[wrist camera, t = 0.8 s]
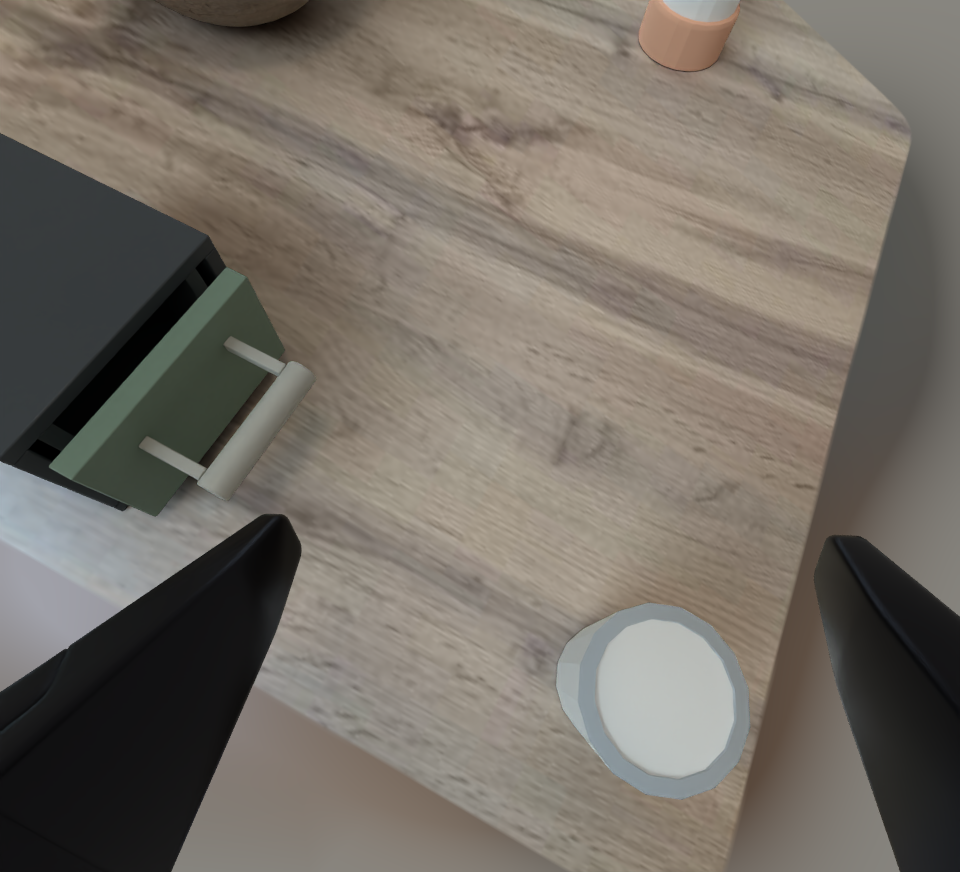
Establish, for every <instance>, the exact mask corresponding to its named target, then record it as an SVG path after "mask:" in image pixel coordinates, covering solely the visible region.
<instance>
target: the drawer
mask: <svg viewBox="0 0 960 872" xmlns="http://www.w3.org/2000/svg"><path fill="white" fill-rule="evenodd" d="M284 351H285V349H284V347H283V345H282V343H281V341H280V339H279V337H278V335H277V333H276V331H275V329H274V328H273V326H272V324H271V322H270V320H269V318H268V316H267V314H266V312H265V310H264V308H263V307H262V305H261V303H260V301H259V299H258V297H257V295H256V293H255V291H254V289H253V288H252V286H251V284H250V282H249V280H248V278H247V277H246V276H244V275H242V274H240V273H238V272H236V271H234V270H232V269H230V268H228V267H226V268H225V269H224V270H223V271H222V272H221V274H220V275H219V276H218V277H217V278H216V279H215V280H214V281H213V283H212V284H211V285H210V286H209V287H207V285H206V284H205V282H204V281H203V279H202V278H201V276H200V274H199V273H198V271H197V270H196V268H195V269H194V270H193V271H192V272H191V273H190V274H189V275H188V276H187V278H186V279H185V280H184V281H183V282H182V283H181V284H180V285H179V286H178V287H177V288H176V289H175V291H174V292H173V293H172V294H171V295H170V296H169V297H168V298H167V299H166V300H165V301H164V302H163V304H162V305H161V306H160V307H159V308H158V309H157V310H156V311H155V312H154V313H153V314H152V315H151V317H150V318H149V319H148V320H147V321H146V322H145V323H144V324H143V325H142V326H141V327H140V328H139V330H138V331H137V332H136V333H135V334H134V335H133V336H132V337H131V338H130V339H129V340H128V341H127V343H126V344H125V345H124V346H123V347H122V348H121V349H120V350H119V351H118V352H117V353H116V354H115V356H114V357H113V358H112V359H111V360H110V361H109V362H108V363H107V364H106V365H105V366H104V367H103V369H102V370H101V371H100V372H99V373H98V374H97V375H96V376H95V377H94V378H93V379H92V380H91V382H90V383H89V384H88V385H87V386H86V387H85V388H84V389H83V390H82V391H81V392H80V393H79V395H78V396H77V397H76V398H75V399H74V400H73V401H72V402H71V403H70V404H69V405H68V406H67V408H66V409H65V410H64V411H63V412H62V413H61V414H60V415H59V416H58V417H57V418H56V419H55V421H54V422H53V423H52V424H51V425H50V426H49V427H48V428H47V429H46V430H45V431H44V432H43V434H42V435H41V436H40V437H39V438H38V440H40V441H42V442H44V443H46V444H48V445H50V446H52V447H54V448H56V449H58V450H60V451H61V453H60V454H59V455H58V456H57V457H56V458H55V459H54V460H53V462H52V463H51V464H50V465H49V468H51V469H52V470H54V471H56V472H58V473H59V474H61V475H63V476H65V477H67V478H68V479H70V480H72V481H74V482H77V483H79V484H81V485H84V486H86V487H88V488H90V489H93V490H95V491H97V492H100V493H102V494H104V495H107V496H109V497H111V498H113V499H116V500H118V501H120V502H123V503H125V504H127V505H129V506H132V507H134V508H136V509H139V510H141V511H143V512H146V513H148V514H150V515H152V516H155V517H156V516H157V515H158V514H159V513H160V511H161V510H162V509H163V508H164V506H165V505H166V504H167V502H168V501H169V500H170V499H171V497H172V496H173V495H174V493H175V492H176V491H177V490H178V488H179V487H180V486H181V484H182V483H183V482H184V480H185V479H186V478H187V477H188V475H189V476H191V477H193V478H195V479H197V480H199V481H198V482H197V485H198V486H200V487H202V488H203V489H205V490H207V491H208V492H210V493H212V494H213V495H215V496H217V497H219V498H221V499H223V500H224V501H229V500H230V498H231V497H232V495H233V494H234V493H235V491H236V490H237V489H238V487H239V486H240V484H241V483H242V482H243V480H244V479H245V478H246V476H247V475H248V473H249V472H250V471H251V469H252V468H253V467H254V465H255V464H256V462H257V461H258V460H259V458H260V457H261V456H262V454H263V453H264V451H265V450H266V449H267V447H268V446H269V445H270V443H271V442H272V440H273V439H274V438H275V436H276V435H277V434H278V432H279V431H280V429H281V428H282V427H283V425H284V424H285V423H286V421H287V420H288V418H289V417H290V416H291V414H292V413H293V412H294V410H295V409H296V407H297V406H298V405H299V403H300V402H301V401H302V399H303V398H304V396H305V395H306V394H307V392H308V391H309V390H310V388H311V387H312V385H313V384H314V383H315V381H316V377H315V375H314V374H313V373H312V372H311V371H310V370H309V369H307V368H306V367H305V366H303V365H301V364H299V363H297V362H294V361H290V362H289V363H288V364H287V366H286V364H284V363H282V362H280V361H278V359H279V358H280V356H281V355H282V354H283V353H284ZM268 372H270V373H272V374H274V375H276V376H278V377H277V379H276V380H275V381H274V383H273V384H272V385H271V387H270V388H269V389H268V391H267V392H266V393H265V394H264V396H263V397H262V398H261V400H260V401H259V402H258V404H257V405H256V406H255V408H254V409H253V410H252V412H251V413H250V414H249V415H248V417H247V418H246V419H245V421H244V422H243V423H242V425H241V426H240V427H239V429H238V430H237V431H236V433H235V434H234V435H233V436H232V438H231V439H230V440H229V442H228V443H227V444H226V446H225V447H224V448H223V450H222V451H221V452H220V453H219V455H218V456H217V457H216V459H215V460H214V461H213V463H212V464H211V465H210V467H209V468H208V469H207V468H205V467H203V466H202V465H200V464H198V462H199V461H200V460H201V459H202V457H203V456H204V455H205V453H206V452H207V451H208V449H209V448H210V447H211V446H212V444H213V443H214V442H215V440H216V439H217V438H218V437H219V435H220V434H221V433H222V431H223V430H224V429H225V428H226V426H227V425H228V424H229V422H230V421H231V420H232V418H233V417H234V416H235V415H236V413H237V412H238V411H239V409H240V408H241V407H242V406H243V404H244V403H245V402H246V400H247V399H248V398H249V397H250V395H251V394H252V393H253V391H254V390H255V389H256V387H257V386H258V385H259V384H260V382H261V381H262V380H263V378H264V377H265V376H266V375H267V373H268Z"/></svg>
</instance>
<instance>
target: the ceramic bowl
mask: <svg viewBox="0 0 960 872" xmlns="http://www.w3.org/2000/svg"><path fill="white" fill-rule="evenodd" d="M155 1H156V2H158V3H160V4H162V5H163V6H165V7H167V8H169V9H171V10H174V11H176V12H178V13H180V14H182V15H185V16H188V17H190V18H193V19H195V20H199V21H203V22H207V23H211V24H215V25H220V26H234V27H244V26H255V25H259V24H263V23H267V22H271V21H275V20H277V19H279V18H282V17H284V16H287V15H289V14H291V13H292V12H294V11H296V10H298V9H299V8H300V7H302V6H303V5H304V4H306V3H307V2H308V1H309V0H155Z"/></svg>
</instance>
